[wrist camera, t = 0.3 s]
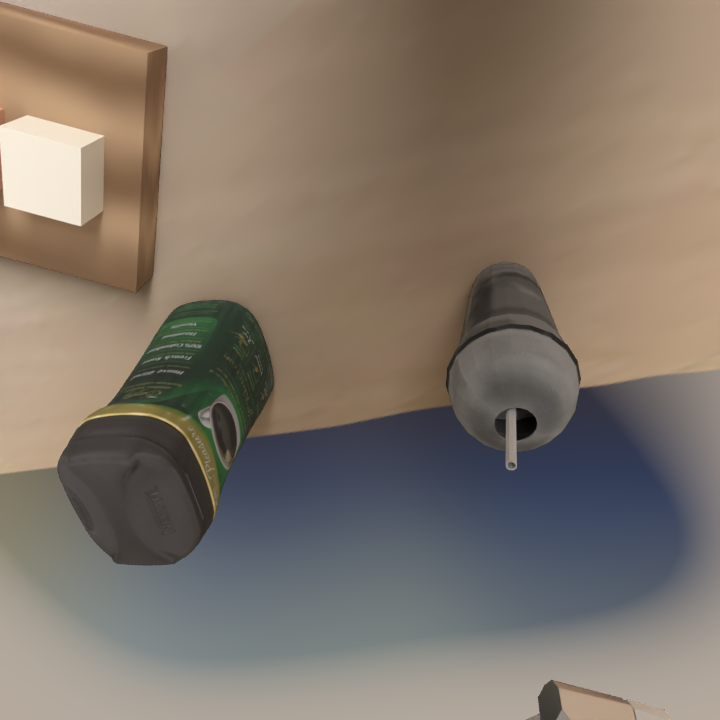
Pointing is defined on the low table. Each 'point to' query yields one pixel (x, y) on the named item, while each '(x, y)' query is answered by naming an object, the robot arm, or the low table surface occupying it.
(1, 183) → the tile
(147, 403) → the coffee jar
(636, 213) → the low table surface
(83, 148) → the tile
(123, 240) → the board
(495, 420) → the beverage cup
